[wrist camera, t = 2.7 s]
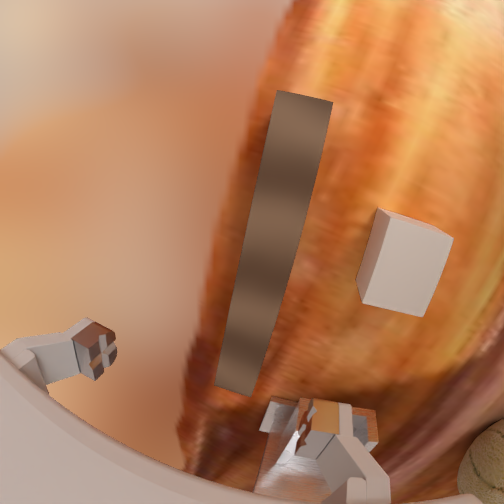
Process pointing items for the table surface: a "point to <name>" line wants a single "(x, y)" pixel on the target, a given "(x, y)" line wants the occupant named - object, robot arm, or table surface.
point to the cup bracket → (294, 467)
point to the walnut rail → (272, 235)
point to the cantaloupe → (484, 466)
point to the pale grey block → (402, 263)
